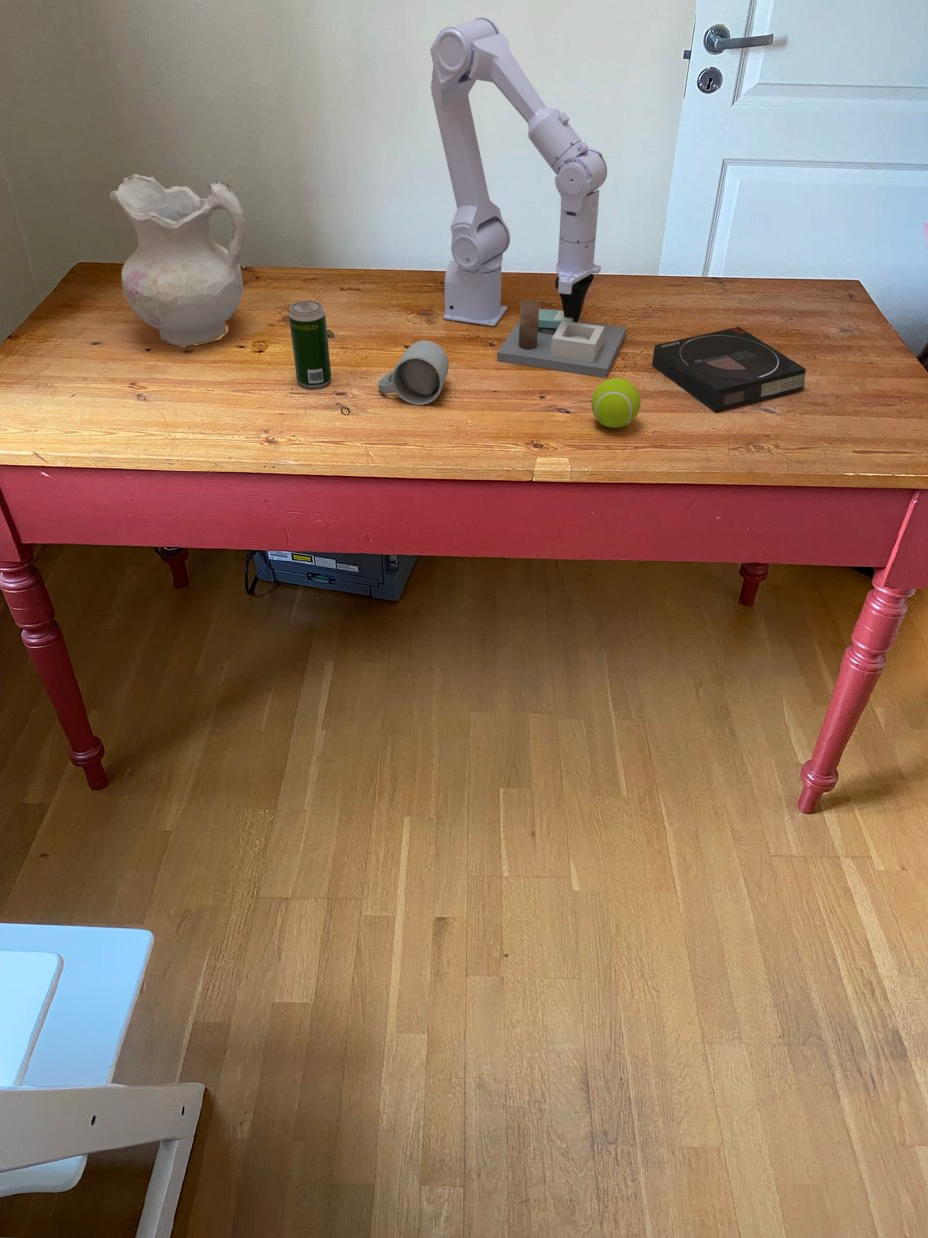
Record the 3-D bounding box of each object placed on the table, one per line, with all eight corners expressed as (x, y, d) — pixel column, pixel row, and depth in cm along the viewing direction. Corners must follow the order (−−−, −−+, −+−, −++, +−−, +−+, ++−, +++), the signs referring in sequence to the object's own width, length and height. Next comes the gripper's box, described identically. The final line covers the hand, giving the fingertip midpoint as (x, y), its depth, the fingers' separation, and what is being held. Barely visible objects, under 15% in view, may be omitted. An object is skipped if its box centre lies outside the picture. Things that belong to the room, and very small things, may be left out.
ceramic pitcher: (272, 315, 167) (252, 163, 152) (255, 356, 152) (232, 191, 137) (150, 317, 167) (118, 164, 152) (121, 358, 151) (83, 193, 136)
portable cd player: (715, 416, 140) (720, 391, 137) (651, 368, 151) (654, 344, 149) (802, 394, 145) (808, 370, 142) (733, 349, 157) (738, 326, 154)
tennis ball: (633, 439, 134) (640, 395, 129) (585, 432, 135) (589, 388, 130) (640, 416, 139) (646, 372, 134) (593, 409, 140) (598, 366, 136)
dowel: (516, 348, 152) (518, 306, 147) (520, 340, 154) (522, 299, 150) (535, 350, 152) (537, 308, 147) (538, 342, 154) (541, 301, 149)
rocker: (524, 325, 157) (524, 317, 156) (532, 315, 160) (531, 307, 159) (571, 329, 154) (571, 321, 153) (577, 318, 158) (578, 310, 157)
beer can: (336, 385, 145) (329, 310, 138) (303, 392, 144) (294, 317, 136) (325, 370, 149) (317, 297, 141) (292, 377, 147) (283, 303, 139)
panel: (496, 360, 152) (497, 334, 149) (523, 321, 163) (524, 296, 160) (605, 377, 148) (609, 350, 145) (625, 335, 159) (628, 310, 156)
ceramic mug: (451, 382, 147) (450, 335, 141) (442, 407, 140) (441, 359, 135) (385, 378, 148) (381, 331, 143) (373, 403, 142) (369, 355, 137)
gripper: (592, 255, 141) (585, 341, 150) (611, 224, 151) (604, 306, 160) (547, 250, 142) (543, 335, 151) (569, 220, 153) (564, 301, 162)
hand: (571, 320), depth 156 cm, fingers closed, pressing on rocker
